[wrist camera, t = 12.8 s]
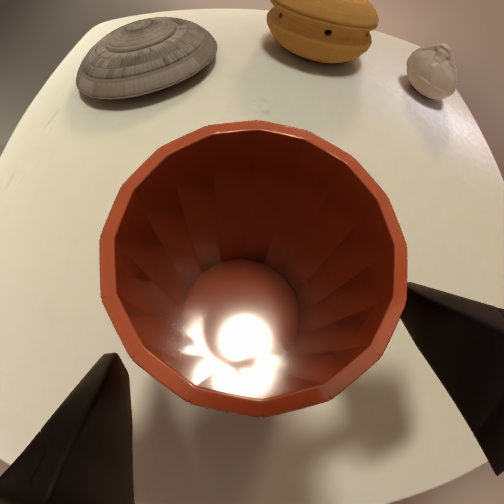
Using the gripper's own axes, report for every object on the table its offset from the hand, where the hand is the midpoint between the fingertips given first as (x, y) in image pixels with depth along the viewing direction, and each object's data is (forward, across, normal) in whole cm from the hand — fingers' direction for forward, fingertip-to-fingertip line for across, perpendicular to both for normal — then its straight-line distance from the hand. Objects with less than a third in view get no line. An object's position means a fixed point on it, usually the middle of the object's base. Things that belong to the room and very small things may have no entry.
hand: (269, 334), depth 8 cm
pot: (+26, -14, -14) cm, 33 cm away
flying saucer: (+26, +4, -14) cm, 30 cm away
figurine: (+21, -27, -9) cm, 35 cm away
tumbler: (+7, 0, +5) cm, 9 cm away
